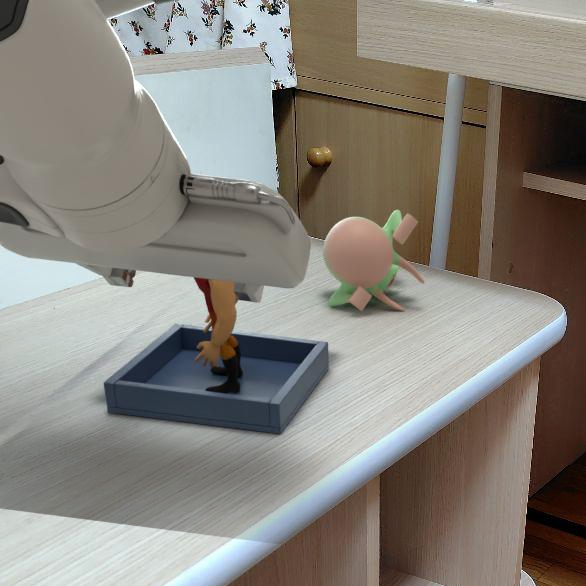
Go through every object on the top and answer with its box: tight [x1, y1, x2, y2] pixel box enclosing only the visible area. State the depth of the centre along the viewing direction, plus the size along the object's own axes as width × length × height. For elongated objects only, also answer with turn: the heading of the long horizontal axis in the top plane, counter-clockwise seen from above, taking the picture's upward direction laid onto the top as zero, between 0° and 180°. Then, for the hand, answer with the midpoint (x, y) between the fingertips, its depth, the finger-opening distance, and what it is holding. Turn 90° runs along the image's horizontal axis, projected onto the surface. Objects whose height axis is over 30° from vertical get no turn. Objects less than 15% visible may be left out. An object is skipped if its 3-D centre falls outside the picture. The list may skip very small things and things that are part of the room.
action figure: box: [193, 277, 243, 394], centre depth 77 cm, size 10×4×15 cm, turn 10°
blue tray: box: [103, 323, 330, 435], centre depth 81 cm, size 14×14×2 cm
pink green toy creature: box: [322, 209, 426, 312], centre depth 102 cm, size 12×10×9 cm
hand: (188, 285), depth 71 cm, fingers open, 8 cm apart
